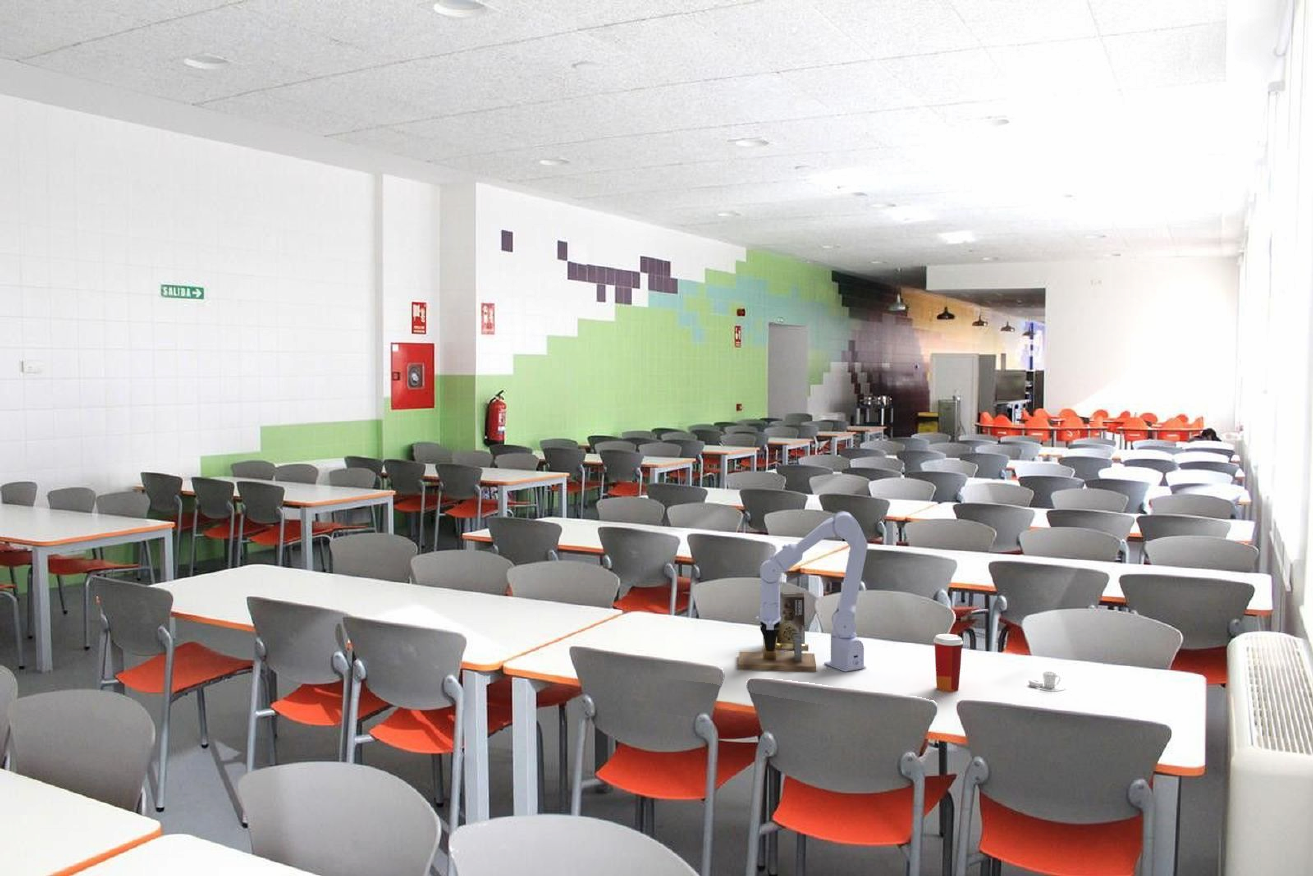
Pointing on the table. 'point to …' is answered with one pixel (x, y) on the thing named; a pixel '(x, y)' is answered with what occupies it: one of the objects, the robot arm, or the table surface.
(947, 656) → the paper cup
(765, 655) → the gold cylinder with rod
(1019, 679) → the table surface
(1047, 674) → the teacup and saucer
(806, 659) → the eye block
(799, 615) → the coffee box
